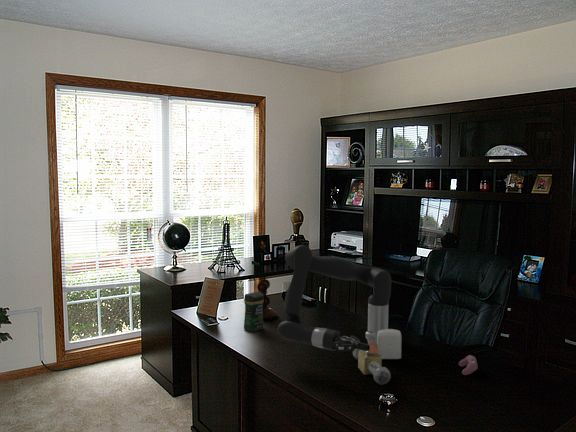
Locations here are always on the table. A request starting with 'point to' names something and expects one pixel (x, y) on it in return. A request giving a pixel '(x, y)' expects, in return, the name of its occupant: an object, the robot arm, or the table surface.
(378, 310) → the robot arm
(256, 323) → the coffee jar
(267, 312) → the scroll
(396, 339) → the photo printer
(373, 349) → the lever
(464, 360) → the pink curved piece
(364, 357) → the valve
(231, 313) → the table surface
